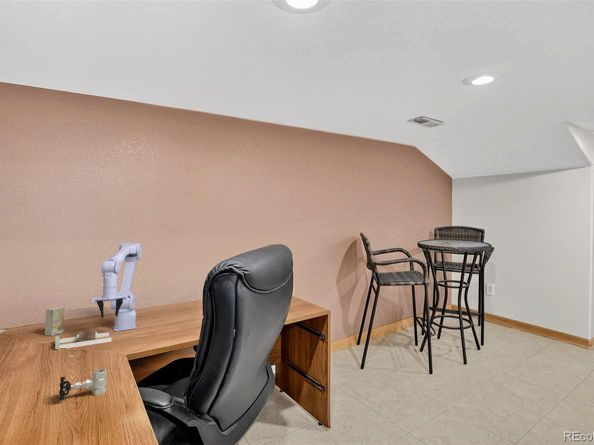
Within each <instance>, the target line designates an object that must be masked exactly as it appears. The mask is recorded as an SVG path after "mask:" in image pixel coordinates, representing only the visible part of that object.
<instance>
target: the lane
mask: <svg viewBox="0 0 594 445" xmlns="http://www.w3.org/2000/svg"><path fill="white" fill-rule="evenodd" d="M95 332H96V337H95V340H90V341H84V342H79V333H77V334H76V336H75V337H72V336H71V337H67V338H66V337H64V338H61V337H60V335H55V340H54V344H55V345H54V346H55V347H54V350H55V349H59V350H61V349H60V348H66V349H70V348H77V347H84V346H90V345H97V344H104V343H110V342H112V338H113V337H110V332H102V333H98V331H96V330H95ZM70 342H71V343H70ZM64 343H65V344H64Z"/></svg>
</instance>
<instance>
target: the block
mask: <svg viewBox="0 0 594 445" xmlns="http://www.w3.org/2000/svg"><path fill="white" fill-rule="evenodd" d="M78 334H79V341H78V342H84V341H90V340H96V338H95V337H96V329H89V330H81V331H78Z"/></svg>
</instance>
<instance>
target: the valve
mask: <svg viewBox="0 0 594 445" xmlns="http://www.w3.org/2000/svg"><path fill="white" fill-rule="evenodd" d="M107 376H108V370H107V369H106V368H98V369H95V370H93V372H92V378H90V377H89V378H85V381H84V380H83V381H82V382H81V381H78V382H75V383H74V384H72V383H70V381H69V380H66V378H67V377H66V376H61V377H60V381H59V391H58V395H59V396H58V400H59V401H64V400H65V397H66V396H67V395H68V394H69V393H70V391H71V390H72V389H74V390H78V389H81V388H83V389H84V390H89V389H90V388H91V394H92V395H94V396H98V395H102V394H105V392H106V391H107V384H108V377H107Z"/></svg>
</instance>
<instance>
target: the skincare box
mask: <svg viewBox="0 0 594 445" xmlns="http://www.w3.org/2000/svg"><path fill="white" fill-rule="evenodd" d="M64 323H65V307H64V306H63V307H62V306H56V307H50V308H46V309H45V323H44V324H45V325H44V326H45V328H44V336H49V337H53V336H58V335H60V334H63V333H64V325H65V324H64Z"/></svg>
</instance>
